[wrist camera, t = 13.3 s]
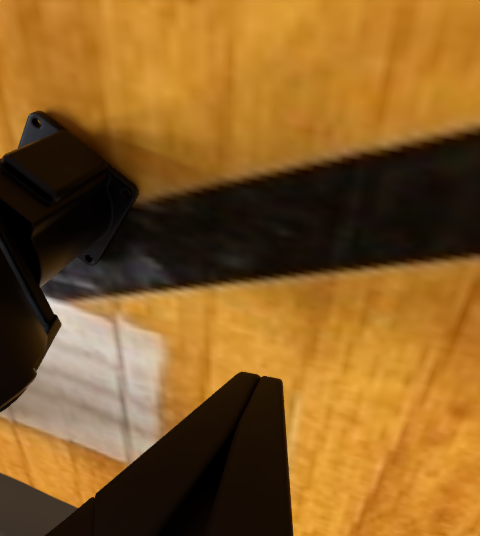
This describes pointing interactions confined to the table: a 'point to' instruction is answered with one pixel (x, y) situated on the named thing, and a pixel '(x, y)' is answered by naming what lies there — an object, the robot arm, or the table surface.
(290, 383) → the table surface
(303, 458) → the table surface
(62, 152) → the robot arm
